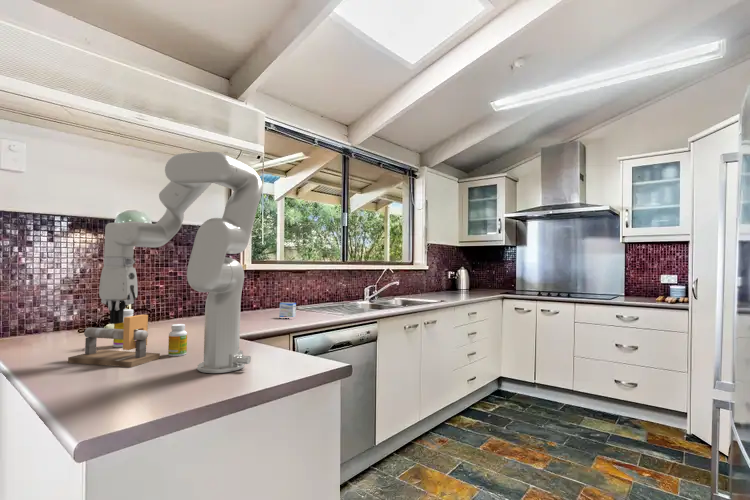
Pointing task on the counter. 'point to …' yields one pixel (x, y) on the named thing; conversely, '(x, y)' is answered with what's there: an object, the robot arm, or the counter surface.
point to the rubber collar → (129, 327)
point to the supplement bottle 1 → (119, 342)
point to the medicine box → (287, 310)
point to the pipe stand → (110, 355)
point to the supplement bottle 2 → (177, 340)
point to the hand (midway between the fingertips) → (116, 323)
